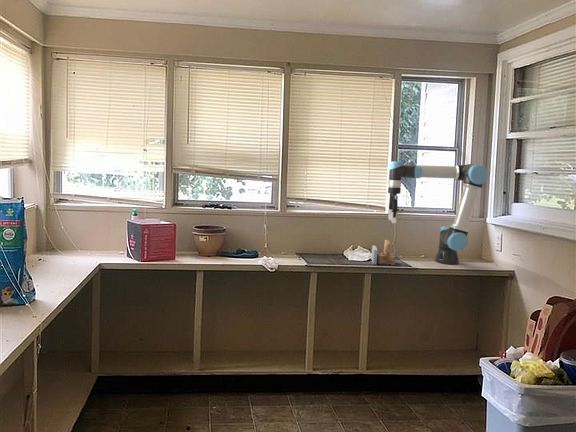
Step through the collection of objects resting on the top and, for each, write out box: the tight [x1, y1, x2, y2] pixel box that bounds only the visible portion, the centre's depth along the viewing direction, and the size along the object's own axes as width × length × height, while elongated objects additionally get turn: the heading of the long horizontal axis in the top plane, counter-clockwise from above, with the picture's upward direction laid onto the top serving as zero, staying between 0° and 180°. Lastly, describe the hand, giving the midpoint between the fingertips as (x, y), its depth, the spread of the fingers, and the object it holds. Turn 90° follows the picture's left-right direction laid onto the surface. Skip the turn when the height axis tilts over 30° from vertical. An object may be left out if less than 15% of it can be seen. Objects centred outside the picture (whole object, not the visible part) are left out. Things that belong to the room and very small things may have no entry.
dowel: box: [383, 239, 391, 256], centre depth 371 cm, size 3×3×13 cm
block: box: [377, 252, 396, 266], centre depth 371 cm, size 10×10×5 cm
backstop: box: [370, 245, 379, 266], centre depth 371 cm, size 2×16×9 cm, turn 177°
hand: (392, 221), depth 373 cm, fingers open, 13 cm apart
